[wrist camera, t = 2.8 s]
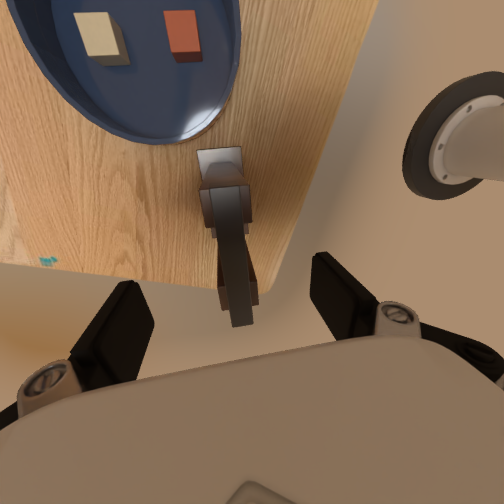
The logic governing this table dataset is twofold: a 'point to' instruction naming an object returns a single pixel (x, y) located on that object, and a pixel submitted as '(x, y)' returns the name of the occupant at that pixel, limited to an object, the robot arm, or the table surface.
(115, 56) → the cream block
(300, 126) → the table surface
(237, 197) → the stirring stick
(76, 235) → the table surface
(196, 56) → the terracotta block
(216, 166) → the stick stand
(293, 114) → the table surface
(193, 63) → the bowl
